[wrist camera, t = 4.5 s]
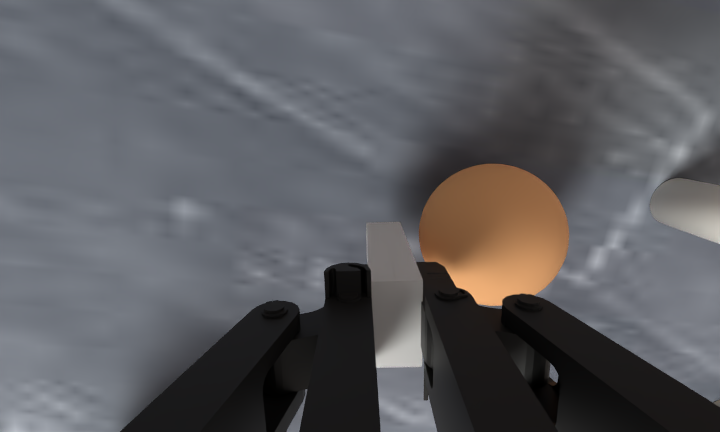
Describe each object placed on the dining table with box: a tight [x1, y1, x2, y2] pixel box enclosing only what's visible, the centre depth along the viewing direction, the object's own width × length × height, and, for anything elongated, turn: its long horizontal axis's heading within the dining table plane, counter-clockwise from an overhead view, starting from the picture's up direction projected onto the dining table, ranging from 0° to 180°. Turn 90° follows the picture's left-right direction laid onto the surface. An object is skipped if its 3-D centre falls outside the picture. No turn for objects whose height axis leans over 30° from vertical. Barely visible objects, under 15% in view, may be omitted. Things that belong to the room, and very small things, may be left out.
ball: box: [419, 164, 569, 306], centre depth 17 cm, size 6×6×6 cm
